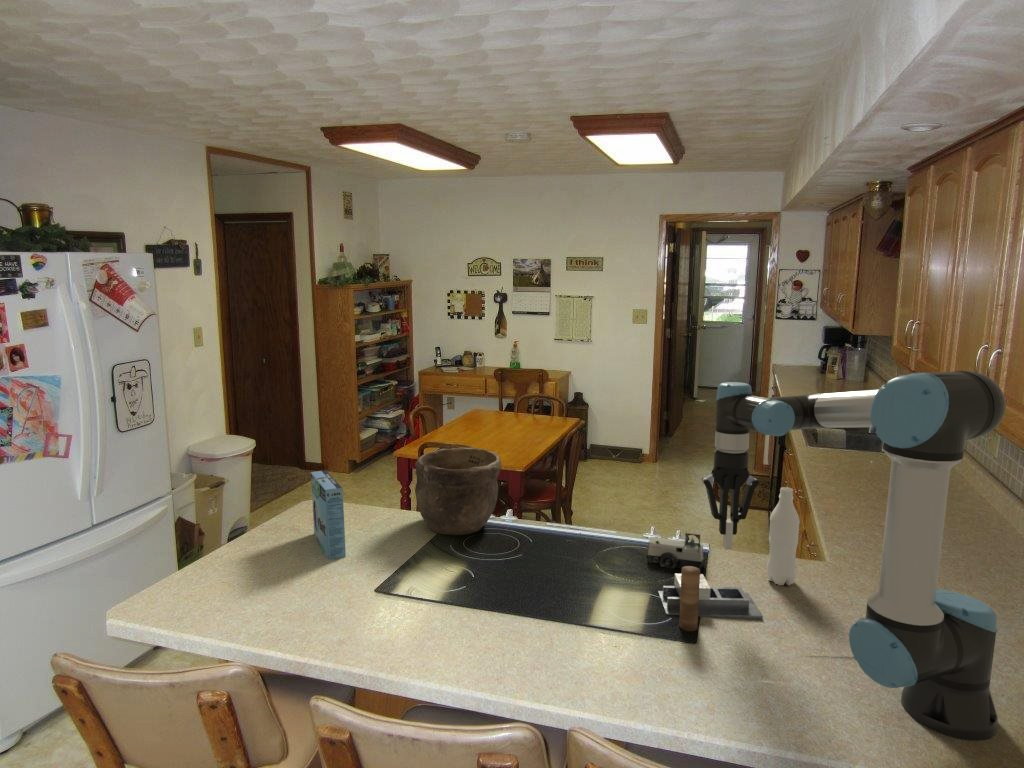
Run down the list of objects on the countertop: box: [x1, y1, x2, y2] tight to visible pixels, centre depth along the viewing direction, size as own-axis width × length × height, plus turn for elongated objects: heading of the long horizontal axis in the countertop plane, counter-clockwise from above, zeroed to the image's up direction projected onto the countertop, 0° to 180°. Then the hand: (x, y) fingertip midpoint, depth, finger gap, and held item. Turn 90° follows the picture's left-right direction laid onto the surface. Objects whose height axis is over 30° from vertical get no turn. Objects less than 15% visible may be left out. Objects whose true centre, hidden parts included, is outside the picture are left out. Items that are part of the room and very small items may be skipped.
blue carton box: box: [310, 470, 347, 560], centre depth 195 cm, size 20×5×23 cm, turn 26°
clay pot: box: [414, 447, 502, 536], centre depth 212 cm, size 26×26×25 cm
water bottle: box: [766, 486, 801, 586], centre depth 181 cm, size 7×7×25 cm
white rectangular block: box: [673, 573, 711, 600], centre depth 168 cm, size 8×7×4 cm
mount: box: [658, 585, 764, 621], centre depth 169 cm, size 12×22×4 cm, turn 88°
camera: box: [646, 531, 705, 571], centre depth 191 cm, size 15×8×10 cm, turn 69°
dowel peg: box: [678, 566, 701, 632], centre depth 157 cm, size 4×4×14 cm
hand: (727, 547), depth 166 cm, fingers closed
